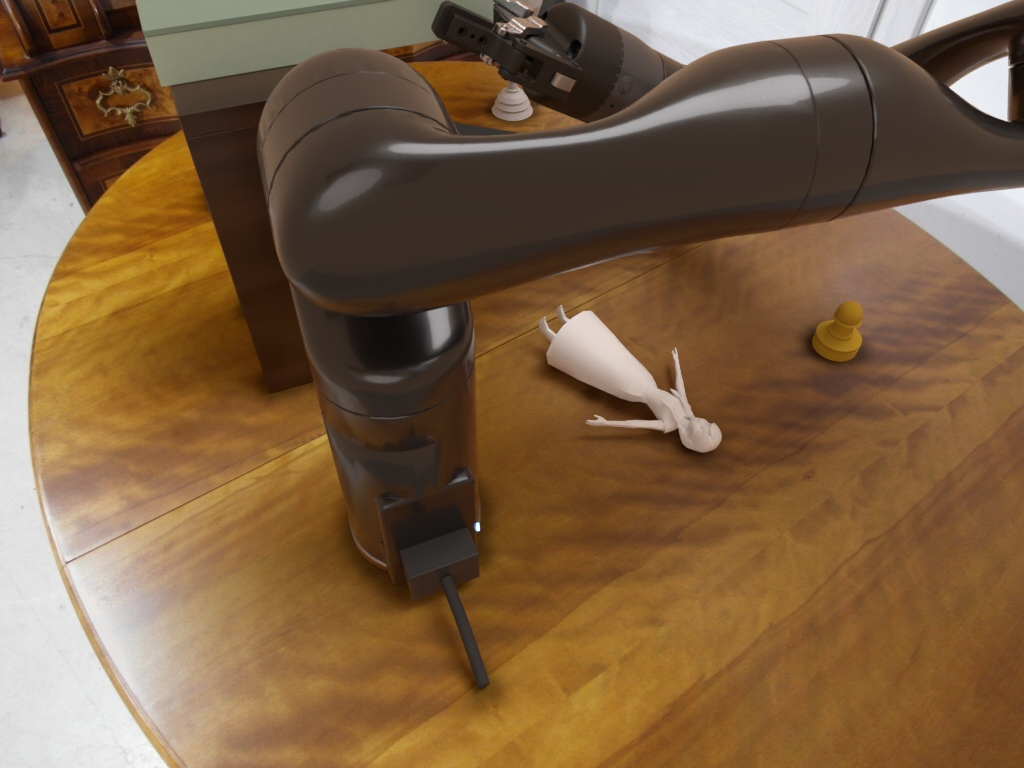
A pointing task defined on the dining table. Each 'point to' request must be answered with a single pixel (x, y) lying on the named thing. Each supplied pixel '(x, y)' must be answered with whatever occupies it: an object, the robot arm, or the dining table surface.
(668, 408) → the woman figurine
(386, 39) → the storage box
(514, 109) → the chalice
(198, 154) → the tall wooden pillar
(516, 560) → the dining table surface
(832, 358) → the chess piece
